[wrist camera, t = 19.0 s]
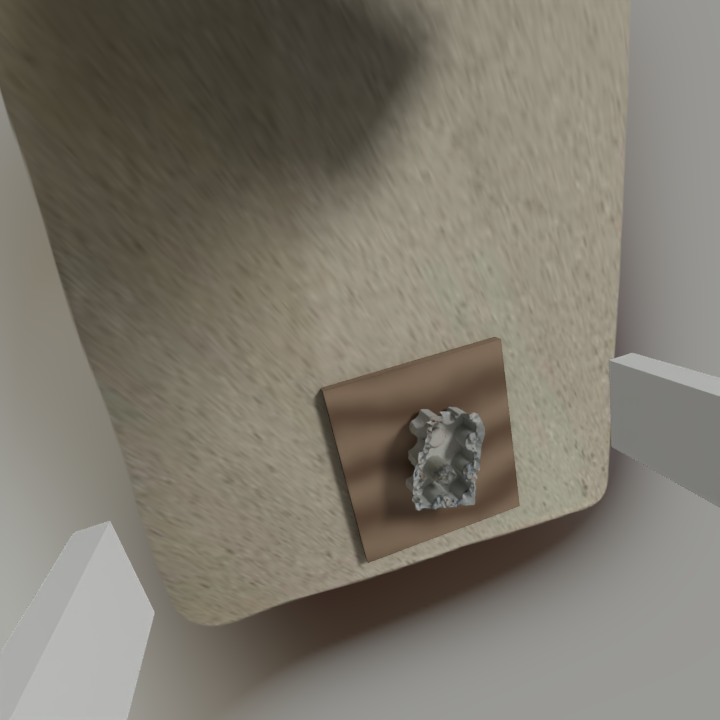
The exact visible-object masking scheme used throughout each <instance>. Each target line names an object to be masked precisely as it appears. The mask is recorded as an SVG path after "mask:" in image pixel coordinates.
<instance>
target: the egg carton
mask: <svg viewBox="0 0 720 720" xmlns="http://www.w3.org/2000/svg"><path fill="white" fill-rule="evenodd" d="M440 414H441V416H437V415H436V414H434V413H433V412H432V411H430V410H428V409H421V410H420V412H419V415H418V416H417V417H416V418H415V419H414V420H412V421H411V422H410V425H409V429H410V431H411V433H412V434H414V435H415V436H416V437H417V443H416V445H415V446H414V447H413V448H412V449H410V450H409V451H408V453H409V456H408V459H409V460H410V461H411V464H412V465H414V467H415V470H414V474H413V475H412V476H411V477H409V478H407V479H406V487H407V488H408V489H409V490H411V492H412V494H413V498H412V501H413V502H414V503H415V507H416V508H415V509H416V510H418V511H420V510H422V508H430V509H434V510H436V509H437V508H447V507H456V506H458V505H474V504H475V491H476V486H475V481H476V480H477V475H476V474H477V472H478V471H480V457H481V447H482V443H483V439H484V436H485V427H484V424H483V422H482V420H481V418H480V416H479V415H478V413H472V414H470V415H469V414H467V413H465V412H464V411H463V410H461V409H459V408H457V407H448V409H447V412H446V411H443V412H440Z"/></svg>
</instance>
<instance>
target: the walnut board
mask: <svg viewBox="0 0 720 720" xmlns="http://www.w3.org/2000/svg"><path fill="white" fill-rule="evenodd" d="M321 389H322V393H323V397H324V401H325V404H326V408H327V412H328V416H329V420H330V423H331V427H332V431H333V435H334V439H335V442H336V446H337V450H338V454H339V458H340V461H341V465H342V469H343V473H344V477H345V480H346V484H347V488H348V492H349V496H350V499H351V503H352V507H353V511H354V515H355V518H356V522H357V526H358V530H359V534H360V538H361V541H362V545H363V549H364V553H365V556H366V559H367V562H368V563H369V562H371V561H374V560H377V559H379V558H382V557H385V556H387V555H390V554H393V553H395V552H398V551H401V550H403V549H406V548H409V547H411V546H414V545H417V544H419V543H422V542H425V541H427V540H430V539H433V538H435V537H438V536H441V535H443V534H446V533H449V532H451V531H454V530H457V529H459V528H462V527H465V526H467V525H470V524H473V523H475V522H478V521H481V520H483V519H486V518H489V517H491V516H494V515H497V514H499V513H502V512H505V511H507V510H510V509H513V508H515V507H518V506H520V505H519V496H518V487H517V478H516V469H515V461H514V452H513V443H512V434H511V425H510V416H509V407H508V398H507V389H506V380H505V372H504V363H503V354H502V345H501V339H499V338H496V337H493V338H490V339H486V340H483V341H479V342H476V343H473V344H469V345H466V346H462V347H459V348H456V349H452V350H449V351H445V352H442V353H439V354H435V355H432V356H428V357H425V358H422V359H418V360H415V361H411V362H408V363H405V364H401V365H398V366H394V367H391V368H388V369H384V370H381V371H377V372H374V373H371V374H367V375H364V376H360V377H357V378H354V379H350V380H347V381H343V382H340V383H336V384H333V385H330V386H326V387H323V388H321ZM448 407H457V408H459V409H461V410H463V411H464V412H465V413H467V414H469V415H470V414H472V413H478V415H479V416H480V418H481V420H482V422H483V424H484V427H485V436H484V439H483V443H482V447H481V457H480V471H478V472H477V474H476V475H477V480H476V481H475V486H476V491H475V504H474V505H458V506H456V507H447V508H437V509H436V510H434V509H430V508H422V510H420V511H418V510H416V509H415V508H416V507H415V503H414V502H413V501H412V498H413V494H412V492H411V490H409V489H408V488H407V487H406V479H407V478H409V477H411V476H412V475H413V474H414V470H415V467H414V465H412V464H411V461H410V460H409V459H408V456H409V453H408V451H409V450H410V449H412V448H413V447H414V446H415V445H416V443H417V437H416V436H415V435H414V434H412V433H411V431H410V429H409V425H410V422H411V421H412V420H414V419H415V418H416V417H417V416H418V415H419V412H420V410H421V409H428V410H430V411H432V412H433V413H434V414H436V415H437V416H441V414H440V412H443V411H446V412H447V409H448Z"/></svg>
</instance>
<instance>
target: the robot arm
mask: <svg viewBox="0 0 720 720" xmlns="http://www.w3.org/2000/svg"><path fill="white" fill-rule="evenodd" d="M609 377H610V413H611V445H612V446H611V447H613V448H615V449H617V450H618V451H620V452H622V453H624V454H626V455H627V456H629V457H631V458H633V459H634V460H636V461H638V462H640V463H642V464H643V465H645V466H647V467H649V468H650V469H652V470H654V471H656V472H658V473H659V474H661V475H663V476H665V477H666V478H669V479H670V480H672V481H674V482H675V483H677V484H679V485H681V486H683V487H684V488H686V489H688V490H690V491H691V492H693V493H695V494H697V495H699V496H700V497H702V498H704V499H706V500H707V501H709V502H711V503H713V504H715V505H716V506H718V507H720V378H718V377H715V376H712V375H708V374H704V373H701V372H698V371H694V370H690V369H687V368H684V367H680V366H676V365H673V364H669V363H666V362H662V361H659V360H655V359H652V358H648V357H645V356H642V355H638V354H635V353H630V354H627V355H624V356H621V357H618V358H615V359H611V360H609ZM154 613H155V612H154V610H153V608H152V606H151V604H150V602H149V600H148V598H147V596H146V594H145V592H144V590H143V588H142V586H141V583H140V582H139V579H138V577H137V575H136V573H135V571H134V569H133V567H132V565H131V563H130V561H129V559H128V557H127V555H126V553H125V551H124V549H123V547H122V544H121V542H120V540H119V538H118V536H117V534H116V532H115V530H114V528H113V526H112V524H111V522H110V521H108V522H105V523H101V524H98V525H95V526H92V527H89V528H86V529H83V530H80V531H76V532H73V534H72V536H71V537H70V539H69V540H68V542H67V544H66V545H65V547H64V549H63V550H62V552H61V553H60V555H59V557H58V558H57V560H56V562H55V563H54V565H53V567H52V568H51V570H50V572H49V573H48V575H47V576H46V578H45V580H44V581H43V583H42V585H41V586H40V588H39V590H38V591H37V593H36V594H35V596H34V598H33V599H32V601H31V603H30V604H29V606H28V608H27V609H26V611H25V612H24V614H23V616H22V617H21V619H20V621H19V623H18V624H17V626H16V627H15V629H14V631H13V632H12V634H11V635H10V637H9V639H8V640H7V642H6V644H5V645H4V647H3V649H2V650H1V652H0V720H127V718H128V714H129V710H130V706H131V703H132V699H133V695H134V691H135V687H136V683H137V679H138V675H139V672H140V668H141V663H142V660H143V656H144V652H145V648H146V644H147V640H148V636H149V633H150V629H151V625H152V621H153V617H154Z"/></svg>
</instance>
